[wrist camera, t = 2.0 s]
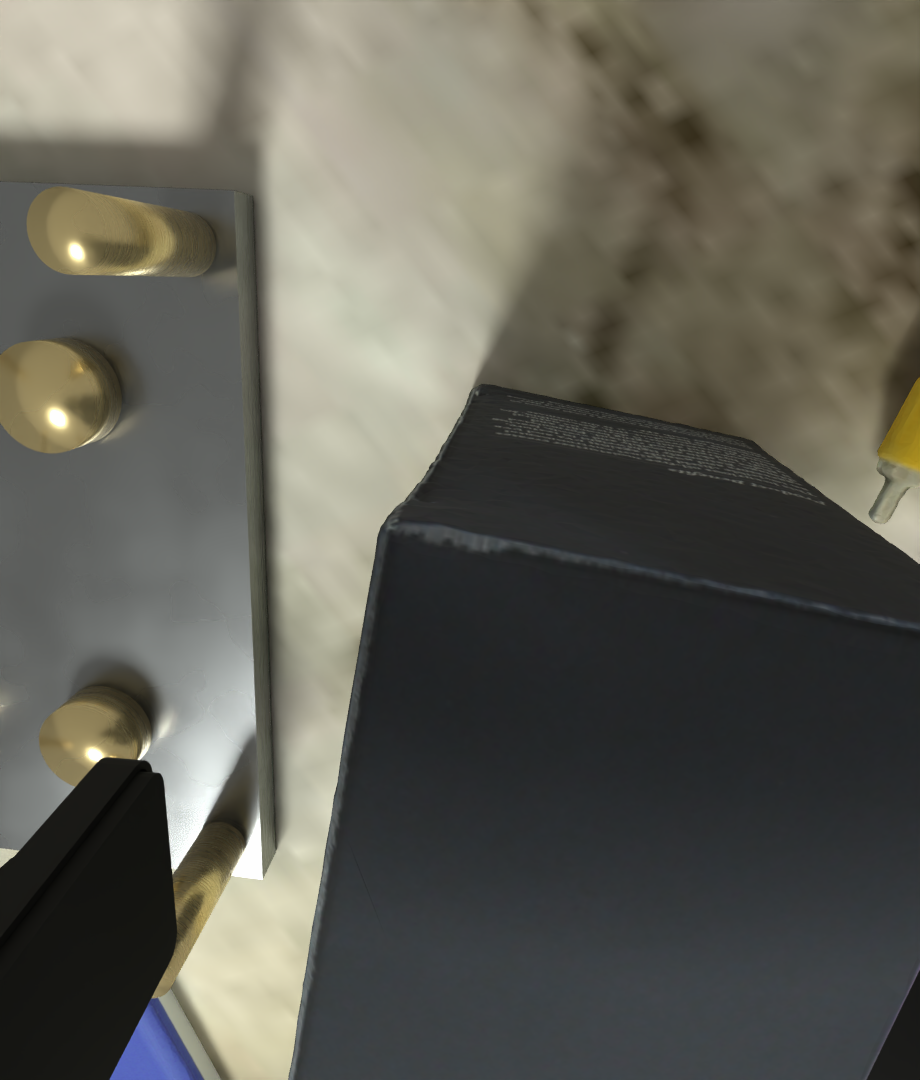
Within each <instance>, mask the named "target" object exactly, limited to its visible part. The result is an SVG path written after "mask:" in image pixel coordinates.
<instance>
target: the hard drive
mask: <svg viewBox="0 0 920 1080" xmlns="http://www.w3.org/2000/svg"><path fill="white" fill-rule="evenodd" d="M110 1080H221V1078H220V1076H219V1074H218V1073H217V1071H216V1069H215V1067H214V1065H213V1064H212V1062H211V1060H210V1058H209V1056H208V1055H207V1053H206V1051H205V1049H204V1047H203V1046H202V1044H201V1042H200V1040H199V1038H198V1037H197V1035H196V1033H195V1031H194V1029H193V1028H192V1026H191V1024H190V1022H189V1020H188V1019H187V1017H186V1015H185V1013H184V1011H183V1010H182V1008H181V1006H180V1004H179V1002H178V1001H177V999H176V997H175V995H174V993H173V991H172V990H171V988H170V990H169V991H168V992H167V993H166V994H165V995H163V996H161V997H158V998H151V1000H150V1002H149V1004H148V1006H147V1008H146V1010H145V1012H144V1014H143V1016H142V1017H141V1019H140V1021H139V1023H138V1025H137V1027H136V1029H135V1031H134V1033H133V1035H132V1037H131V1039H130V1041H129V1043H128V1045H127V1047H126V1049H125V1050H124V1052H123V1054H122V1056H121V1058H120V1060H119V1062H118V1064H117V1066H116V1068H115V1070H114V1072H113V1074H112V1076H111V1078H110Z"/></svg>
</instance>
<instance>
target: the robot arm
mask: <svg viewBox="0 0 920 1080" xmlns="http://www.w3.org/2000/svg"><path fill="white" fill-rule="evenodd" d="M176 940H177V921H176V910H175V899H174V888H173V876H172V865H171V854H170V843H169V831H168V820H167V809H166V798H165V787H164V780H163V777H162V775H161V774H160V773H155V772H153V771H152V767H151V765H150V763H149V762H148V761H146V760H135V759H123V758H112V757H105V758H102V759H101V760H99V761H98V762H97V763H96V764H95V765H94V766H93V768H92V769H91V770H90V771H89V772H88V773H87V774H86V775H85V777H84V778H83V779H82V780H81V781H80V782H79V783H78V785H77V786H76V787H75V788H74V789H73V790H72V791H71V793H70V794H69V795H68V796H67V797H66V798H65V799H64V801H63V802H62V803H61V804H60V805H59V806H58V807H57V808H56V810H55V811H54V812H53V813H52V814H51V815H50V816H49V818H48V819H47V820H46V821H45V822H44V823H43V824H42V826H41V827H40V828H39V829H38V830H37V831H36V832H35V834H34V835H33V836H32V837H31V838H30V839H29V840H28V841H27V843H26V844H25V845H24V846H23V847H22V848H21V849H20V851H19V852H18V853H17V854H16V855H15V856H14V857H13V858H11V859H10V860H9V861H8V862H6V863H5V864H4V865H3V866H2V867H1V868H0V1080H110V1078H111V1076H112V1074H113V1072H114V1070H115V1068H116V1066H117V1064H118V1062H119V1060H120V1058H121V1056H122V1054H123V1052H124V1050H125V1049H126V1047H127V1045H128V1043H129V1041H130V1039H131V1037H132V1035H133V1033H134V1031H135V1029H136V1027H137V1025H138V1023H139V1021H140V1019H141V1017H142V1016H143V1014H144V1012H145V1010H146V1008H147V1006H148V1004H149V1002H150V1000H151V998H152V996H153V994H154V992H155V990H156V988H157V986H158V984H159V983H160V981H161V979H162V977H163V975H164V973H165V971H166V969H167V967H168V965H169V963H170V961H171V959H172V956H173V953H174V950H175V945H176ZM866 1080H920V970H919V973H918V975H917V977H916V979H915V981H914V983H913V985H912V987H911V989H910V991H909V993H908V995H907V997H906V999H905V1001H904V1003H903V1005H902V1007H901V1010H900V1012H899V1014H898V1016H897V1018H896V1020H895V1022H894V1024H893V1026H892V1028H891V1030H890V1032H889V1034H888V1036H887V1038H886V1040H885V1042H884V1044H883V1047H882V1049H881V1051H880V1053H879V1055H878V1057H877V1059H876V1061H875V1063H874V1065H873V1067H872V1069H871V1071H870V1073H869V1075H868V1077H867V1079H866Z"/></svg>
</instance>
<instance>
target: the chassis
mask: <svg viewBox="0 0 920 1080" xmlns="http://www.w3.org/2000/svg"><path fill="white" fill-rule="evenodd" d="M105 757H112V758H123V759H135V760H146V761H148V762H149V763H150V765H151V767H152V771H153V772H155V773H160V774H161V775H162V777H163V780H164V787H165V798H166V809H167V820H168V831H169V843H170V854H171V865H172V869H176V871H175V872H174V874H173V875H172V876H173V888H174V899H175V910H176V921H177V940H176V945H175V950H174V953H173V956H172V959H171V961H170V963H169V965H168V967H167V969H166V971H165V973H164V975H163V977H162V979H161V981H160V983H159V984H158V986H157V988H156V990H155V992H154V994H153V996H152V998H158V997H161V996H163V995H165V994H166V993H167V992H168V991H169V990H170V988H171V986H172V985H173V983H174V981H175V979H176V977H177V975H178V973H179V972H180V970H181V968H182V966H183V964H184V962H185V961H186V959H187V957H188V955H189V953H190V951H191V950H192V948H193V946H194V944H195V942H196V940H197V938H198V937H199V935H200V933H201V931H202V929H203V927H204V926H205V924H206V922H207V920H208V918H209V916H210V915H211V913H212V911H213V909H214V907H215V905H216V903H217V902H218V900H219V898H220V896H221V894H222V892H223V891H224V889H225V887H226V885H227V883H228V881H229V880H230V878H231V876H237V877H245V878H254V879H262V880H263V878H264V876H265V873H266V871H267V869H268V867H269V865H270V863H271V861H272V859H273V857H274V855H275V853H276V847H275V818H274V789H273V760H272V731H271V703H270V674H269V645H268V616H267V587H266V559H265V530H264V501H263V472H262V443H261V414H260V386H259V357H258V328H257V299H256V270H255V242H254V213H253V196H251V195H248V194H245V193H241V192H238V191H235V190H213V189H187V188H160V187H134V186H107V185H81V184H54V183H28V182H1V181H0V848H4V849H13V850H20V849H21V848H22V847H23V846H24V845H25V844H26V843H27V841H28V840H29V839H30V838H31V837H32V836H33V835H34V834H35V832H36V831H37V830H38V829H39V828H40V827H41V826H42V824H43V823H44V822H45V821H46V820H47V819H48V818H49V816H50V815H51V814H52V813H53V812H54V811H55V810H56V808H57V807H58V806H59V805H60V804H61V803H62V802H63V801H64V799H65V798H66V797H67V796H68V795H69V794H70V793H71V791H72V790H73V789H74V788H75V787H76V786H77V785H78V783H79V782H80V781H81V780H82V779H83V778H84V777H85V775H86V774H87V773H88V772H89V771H90V770H91V769H92V768H93V766H94V765H95V764H96V763H97V762H98V761H99V760H101V759H102V758H105Z"/></svg>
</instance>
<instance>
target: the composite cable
mask: <svg viewBox="0 0 920 1080" xmlns="http://www.w3.org/2000/svg"><path fill="white" fill-rule="evenodd" d="M878 456H879V458H880V459H879V462H878V465H877V471H878V472H879V473H880V474H881V475H883V476H884V477H885V483H884V486H883V488H882V490H881V491H880V493H879V495H878V497H877V499H876V501H875V503H874V505H873V507H872V508H871V509H870V511H869V516H870V518H871V519H872V520H873V521H874V522H875V523H879V524H883V523H886V522H887V521H888V520H889V519H890V518H891V516H892V514H893V512H894V510H895V509H896V507H897V505H898V502H899V501H900V499H901V498H902V497H903V495H904V494H905V492H906V491H907V490H908V489H909V488H919V487H920V377H919V378H918V379H917V380H916V382H915V384H914V385H913V387H912V389H911V391H910V393H909V395H908V396H907V398H906V400H905V402H904V404H903V405H902V407H901V409H900V411H899V413H898V415H897V417H896V418H895V420H894V422H893V424H892V426H891V428H890V429H889V431H888V433H887V435H886V437H885V439H884V441H883V442H882V444H881V446H880V447H879V449H878Z"/></svg>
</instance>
